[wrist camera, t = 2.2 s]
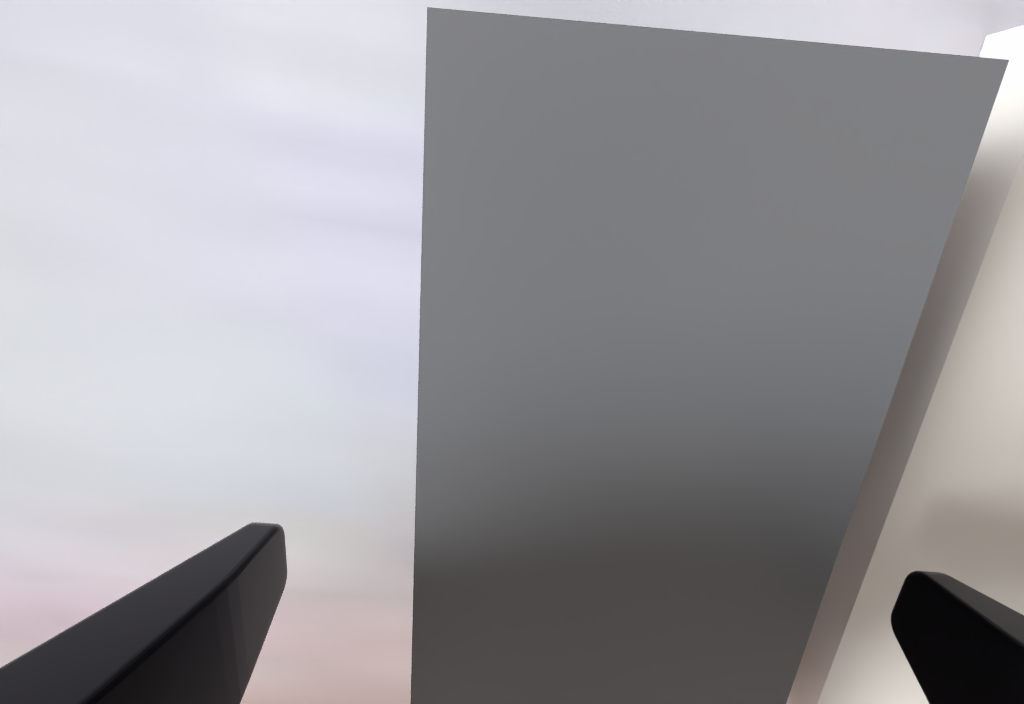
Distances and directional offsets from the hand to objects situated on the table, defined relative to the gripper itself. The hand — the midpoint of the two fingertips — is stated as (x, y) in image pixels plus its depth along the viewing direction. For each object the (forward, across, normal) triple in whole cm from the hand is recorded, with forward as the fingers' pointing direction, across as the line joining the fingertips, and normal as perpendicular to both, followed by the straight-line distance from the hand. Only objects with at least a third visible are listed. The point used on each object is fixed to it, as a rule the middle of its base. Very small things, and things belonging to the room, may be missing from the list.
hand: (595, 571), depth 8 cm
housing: (+4, 0, 0) cm, 4 cm away
